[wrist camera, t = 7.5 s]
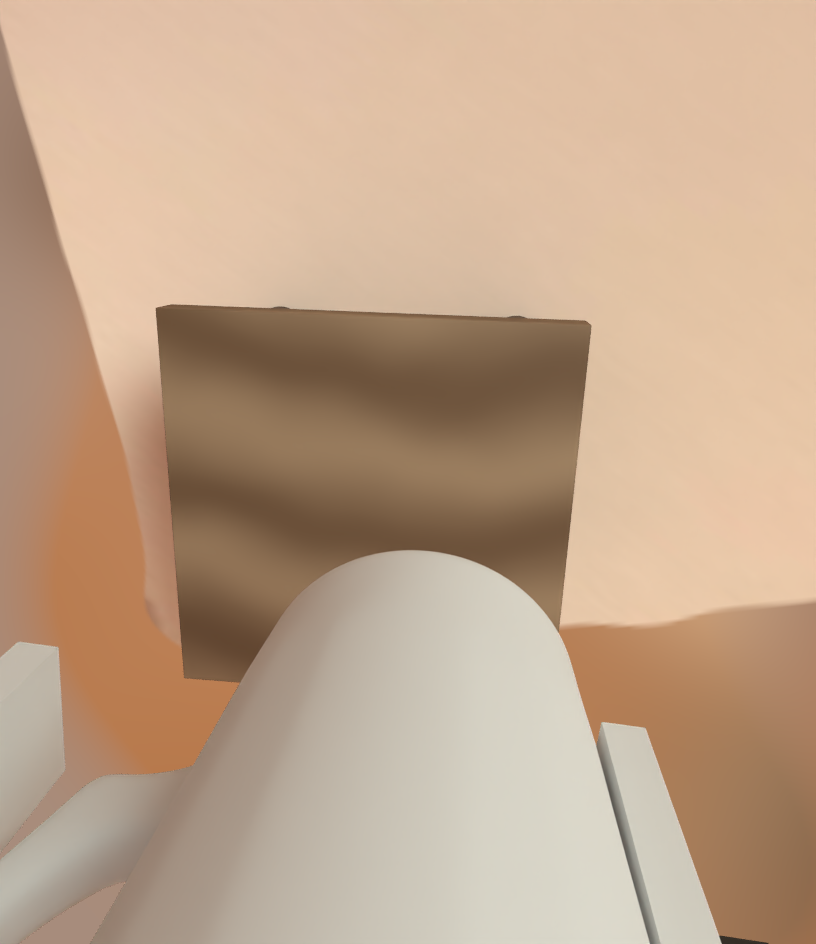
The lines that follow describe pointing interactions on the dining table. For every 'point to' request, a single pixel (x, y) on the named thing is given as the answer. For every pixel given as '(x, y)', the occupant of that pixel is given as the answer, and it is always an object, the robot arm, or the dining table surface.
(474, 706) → the mug
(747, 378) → the dining table surface
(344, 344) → the small wooden stand
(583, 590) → the dining table surface
